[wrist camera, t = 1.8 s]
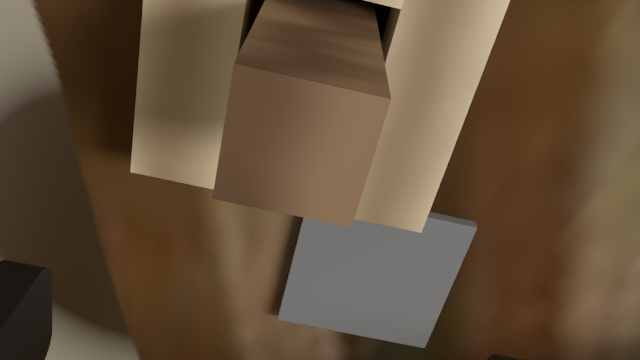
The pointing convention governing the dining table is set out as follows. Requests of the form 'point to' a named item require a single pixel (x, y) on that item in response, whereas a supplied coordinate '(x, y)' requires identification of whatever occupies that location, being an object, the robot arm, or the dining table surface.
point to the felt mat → (375, 277)
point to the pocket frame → (402, 73)
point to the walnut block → (304, 110)
